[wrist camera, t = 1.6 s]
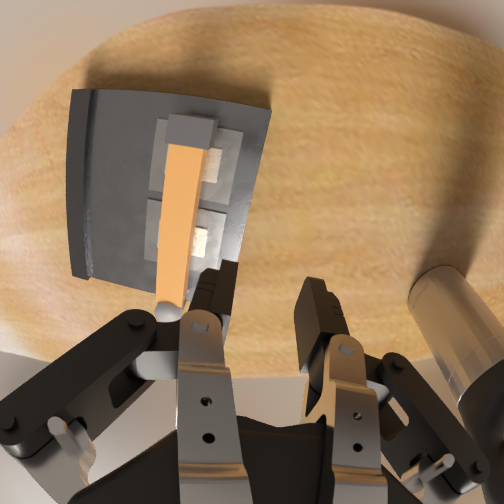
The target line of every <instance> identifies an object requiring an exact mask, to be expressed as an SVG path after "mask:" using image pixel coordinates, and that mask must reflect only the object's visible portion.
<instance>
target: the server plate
mask: <svg viewBox="0 0 504 504" xmlns="http://www.w3.org/2000/svg"><path fill="white" fill-rule="evenodd" d="M171 113H185V114H192V115H199V116H205V117H212V118H217V119H219V121H218V126H217V131H216V136H215V141H214V146H213V147H211V148H210V149H209V150H208V153H207V158H206V164H205V169H204V175H203V181H202V187H201V193H200V199H199V205H198V212H197V219H196V225H195V232H194V239H193V247H192V254H191V262H190V270H189V278H188V287H187V294H186V301H190V302H191V301H192V297H193V294H194V291H195V288H196V285H197V282H198V279H199V276H200V274H201V272H203V271H204V270H205V269H207V268H212V269H217V270H219V269H220V265H221V261H222V259H225V260H230V261H235V262H237V260H238V255H239V251H240V247H241V242H242V238H243V233H244V229H245V224H246V220H247V216H248V211H249V207H250V202H251V198H252V194H253V189H254V185H255V181H256V176H257V172H258V168H259V164H260V159H261V155H262V151H263V146H264V142H265V138H266V134H267V130H268V125H269V121H270V117H271V113H272V110H269V109H264V108H259V107H255V106H250V105H245V104H240V103H234V102H229V101H223V100H217V99H210V98H204V97H197V96H189V95H181V94H172V93H162V92H151V91H137V90H117V89H72V95H71V103H70V112H69V122H68V134H67V152H66V210H67V228H68V241H69V252H70V261H71V269H72V276H75V277H78V278H81V279H85V280H89V278H90V277H93V278H97V279H100V280H104V281H108V282H111V283H115V284H119V285H123V286H127V287H131V288H135V289H139V290H143V291H147V292H151V293H155V294H156V277H157V258H158V243H159V230H160V218H161V208H162V198H163V189H164V181H165V173H166V165H167V158H168V151H169V144H168V143H165V136H166V130H167V124H168V118H169V114H171Z"/></svg>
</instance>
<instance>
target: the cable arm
mask: <svg viewBox="0 0 504 504" xmlns="http://www.w3.org/2000/svg"><path fill="white" fill-rule="evenodd" d="M218 121H219V119H217V118H212V117H205V116H199V115H192V114H185V113H171V114H169V118H168V124H167V130H166V136H165V143H168V144H169V151H168V158H167V165H166V173H165V181H164V189H163V198H162V208H161V218H160V230H159V243H158V258H157V277H156V302H158V304H157V306H156V309H155V316H156V318H157V319H158V320H159V321H160V322H173V321H177V320H179V319H180V318H181V315H182V312H183V309H184V307H185V304H186V294H187V287H188V278H189V270H190V262H191V254H192V247H193V239H194V232H195V225H196V219H197V212H198V205H199V199H200V193H201V187H202V181H203V175H204V169H205V164H206V158H207V153H208V150H209V149H210V148H211V147H213V146H214V141H215V136H216V131H217V126H218Z"/></svg>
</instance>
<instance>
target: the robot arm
mask: <svg viewBox="0 0 504 504" xmlns="http://www.w3.org/2000/svg"><path fill="white" fill-rule="evenodd" d="M238 263H239V262H235V261H230V260H225V259H222V261H221V265H220V269H219V270H217V269H212V268H207V269H205V270H204V271H203V272H201V274H200V276H199V279H198V282H197V285H196V288H195V291H194V294H193V297H192V301H191V304H190V307H189V310H188V312H186V313H185V314H184V315H183V316H182V317H181V319H179V320H177V321H173V322H157V321H156V319H155V317H154V316H153V315H152V314H151V313H149V312H147V311H144V310H140V309H131V310H127V311H125V312H123V313H121V314H120V315H118V316H117V317H115V318H114V319H113V320H111V321H110V322H108V323H107V324H105V325H104V326H103V327H101V328H100V329H98V330H97V331H96V332H94V333H93V334H91V335H90V336H89V337H87V338H86V339H84V340H83V341H81V342H80V343H79V344H77V345H76V346H74V347H73V348H72V349H70V350H69V351H68V352H66V353H65V354H63V355H62V356H61V357H59V358H58V359H56V360H55V361H54V362H52V363H51V364H50V365H48V366H47V367H46V368H44V369H43V370H41V371H40V372H39V373H37V374H36V375H35V376H34V377H32V378H31V379H29V380H28V381H27V382H25V383H24V384H22V385H21V386H20V387H18V388H17V389H16V390H15V391H13V392H12V393H10V394H9V395H8V396H6V397H5V398H4V399H3V400H1V401H0V445H1V446H2V447H3V448H4V449H5V451H6V452H7V453H8V454H9V455H10V456H11V457H12V458H14V459H15V460H16V461H17V462H18V463H19V464H21V465H22V466H23V467H24V468H25V469H26V470H27V471H28V472H29V473H30V474H31V476H32V477H33V478H34V479H35V480H36V481H37V482H38V484H39V485H40V486H41V487H42V488H43V489H44V490H45V491H46V492H47V493H48V494H49V495H50V496H51V497H52V498H53V499H54V500H55V501H56V502H57V503H58V504H453V503H454V502H455V501H456V500H457V499H458V498H459V497H461V496H462V495H464V494H466V493H468V492H469V491H471V490H472V489H474V488H476V487H477V486H479V485H481V486H482V490H483V494H484V499H485V502H486V504H504V327H503V326H502V324H501V323H500V322H499V320H498V319H497V318H496V316H495V315H494V314H493V313H492V311H491V310H490V309H489V307H488V306H487V305H486V304H485V302H484V301H483V300H482V299H481V298H480V296H479V295H478V294H477V293H476V291H475V290H474V289H473V288H472V287H471V285H470V284H469V283H468V282H467V281H466V280H465V278H464V277H463V276H462V275H461V274H460V273H459V272H458V271H457V269H455V268H454V267H452V266H445V265H443V266H438V267H436V268H433V269H431V270H430V271H428V272H426V273H425V274H424V275H423V276H422V277H421V278H420V279H419V280H418V281H417V282H416V283H415V285H414V287H413V288H412V290H411V292H410V295H409V299H408V307H409V311H410V312H411V314H412V316H413V318H414V319H415V321H416V323H417V325H418V327H419V329H420V331H421V333H422V335H423V337H424V338H425V340H426V342H427V344H428V346H429V348H430V350H431V352H432V354H433V356H434V358H435V360H436V362H437V364H438V366H439V368H440V370H441V372H442V374H443V376H444V379H445V381H446V383H447V385H448V387H449V389H450V391H451V394H452V396H453V398H454V401H455V403H456V405H457V407H458V410H459V412H460V415H461V417H462V420H463V423H464V426H465V429H464V428H463V427H462V425H461V424H460V423H459V421H458V420H457V419H456V418H455V416H454V415H453V414H452V413H451V411H450V410H449V409H448V408H447V406H446V405H445V404H444V403H443V401H442V400H441V399H440V398H439V397H438V395H437V394H436V393H435V392H434V391H433V389H432V388H431V387H430V386H429V384H428V383H427V382H426V381H425V380H424V379H423V378H422V376H421V375H420V374H419V373H418V371H417V370H416V369H415V368H414V367H413V366H412V365H411V363H410V362H409V361H408V360H407V359H406V358H405V357H404V356H402V355H400V354H398V353H393V352H390V353H387V354H385V355H384V357H383V358H382V359H378V358H375V357H372V356H369V355H367V354H365V353H364V350H363V347H362V345H361V344H360V343H359V342H358V341H357V340H356V339H355V338H353V337H351V336H350V334H349V331H348V327H347V324H346V321H345V318H344V316H343V315H344V314H343V311H342V310H341V305H340V302H339V300H338V298H337V297H336V296H335V295H334V294H333V293H332V292H328V291H327V289H326V285H325V282H324V280H323V279H318V278H313V277H306V279H305V281H304V284H303V286H302V289H301V292H300V294H299V297H298V300H297V302H296V305H295V309H294V323H295V332H296V341H297V350H298V360H299V370H300V373H309V379H308V381H307V383H306V385H305V391H304V400H303V407H302V414H301V421H300V424H299V425H293V426H287V427H274V426H271V425H268V424H265V423H262V422H259V421H256V420H253V419H250V418H248V417H243V416H237V415H236V411H235V404H234V396H233V388H232V380H231V373H230V369H229V367H225V359H224V349H223V347H224V343H225V339H226V334H227V330H228V326H229V321H230V317H231V311H232V304H233V297H234V290H235V283H236V276H237V270H238ZM157 379H176V380H177V381H176V429H175V430H174V431H172V432H171V433H169V434H168V435H167V436H165V437H164V438H162V439H161V440H160V441H158V442H157V443H155V444H154V445H152V446H151V447H149V448H148V449H146V450H145V451H143V452H142V453H140V454H139V455H137V456H136V457H134V458H133V459H131V460H130V461H128V462H126V463H125V464H123V465H122V466H120V467H119V468H117V469H116V470H114V471H112V472H110V473H109V474H107V475H106V476H104V477H102V478H100V479H99V480H97V481H95V482H94V483H92V484H90V485H89V483H88V472H89V469H90V468H91V466H92V465H93V463H94V461H95V459H96V449H95V447H94V445H93V443H92V441H93V440H95V438H97V437H98V436H99V435H100V434H101V433H102V432H103V431H104V430H105V429H106V428H107V427H108V426H109V425H110V424H111V423H112V422H113V421H115V420H116V419H117V418H118V417H119V416H120V415H121V414H122V413H123V412H124V411H125V410H126V409H127V408H128V407H129V406H130V405H131V404H132V403H133V402H134V401H135V400H136V399H137V398H138V397H139V396H140V395H142V393H143V392H144V391H146V390H147V389H148V388H149V387H150V386H151V385H152V384H153V383H154V382H155V380H157ZM393 397H394V398H395V399H396V400H397V402H398V403H399V404H400V406H401V407H402V408H403V410H404V411H405V412H406V414H407V415H408V417H409V424H408V426H407V427H406V426H405V425H404V424H403V422H402V421H401V420H400V418H399V417H398V416H397V415H396V413H395V412H394V410H393V409H392V408H391V406H390V405H389V404H388V402H389V401H390V400H391V399H392V398H393ZM381 452H382V453H383V454H384V456H385V457H386V459H387V460H388V462H389V463H390V465H391V466H392V468H393V469H394V470H395V472H396V473H397V475H398V476H399V478H400V479H401V482H399V481H398V480H397V479H396V478H395V477H394V476H393V475H392V474H391V473H390V472H389V471H388V470H387V469H386V468H385V467H384V466H383V465H382V464H381Z"/></svg>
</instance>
